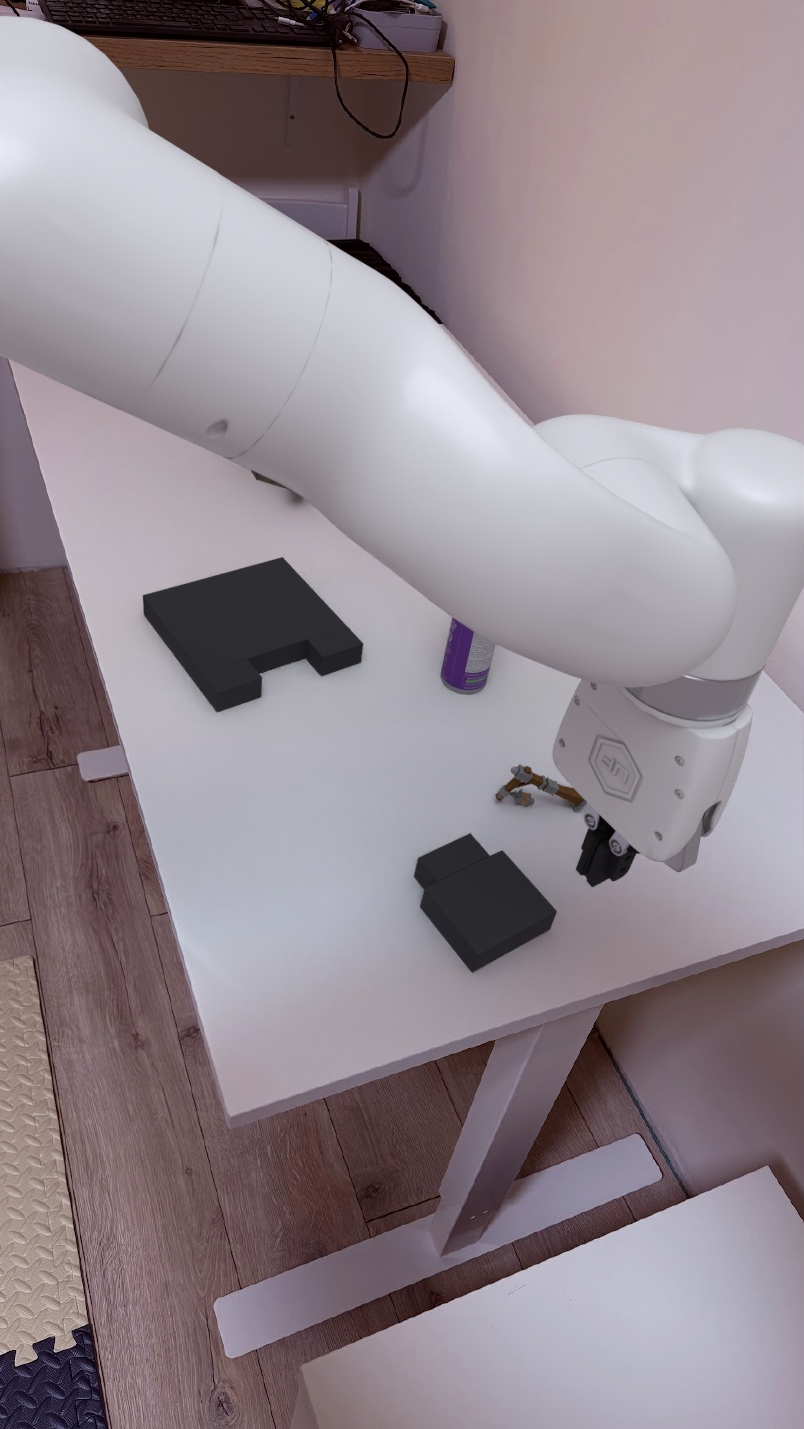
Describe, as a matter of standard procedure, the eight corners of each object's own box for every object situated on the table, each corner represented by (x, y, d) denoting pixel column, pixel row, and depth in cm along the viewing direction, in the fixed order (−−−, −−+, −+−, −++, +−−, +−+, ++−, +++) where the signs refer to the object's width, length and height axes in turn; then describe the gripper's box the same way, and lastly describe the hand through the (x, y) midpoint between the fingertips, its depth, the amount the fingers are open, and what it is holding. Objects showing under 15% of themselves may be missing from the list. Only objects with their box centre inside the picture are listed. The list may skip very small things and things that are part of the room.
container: (432, 667, 102) (457, 544, 92) (472, 659, 104) (501, 537, 94) (453, 698, 99) (481, 573, 89) (494, 688, 101) (526, 566, 91)
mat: (216, 712, 94) (216, 692, 92) (143, 614, 102) (142, 594, 101) (361, 662, 101) (363, 643, 100) (281, 575, 110) (282, 556, 108)
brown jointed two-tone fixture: (486, 786, 90) (515, 755, 87) (557, 813, 93) (588, 784, 91) (488, 801, 89) (518, 770, 86) (560, 828, 92) (591, 799, 89)
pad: (472, 973, 77) (478, 955, 75) (400, 882, 82) (404, 863, 81) (550, 929, 81) (557, 911, 79) (477, 845, 86) (482, 826, 84)
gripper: (544, 602, 57) (486, 815, 69) (745, 776, 48) (638, 982, 61) (639, 568, 60) (567, 777, 73) (841, 724, 52) (721, 929, 64)
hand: (600, 870), depth 67 cm, fingers closed
